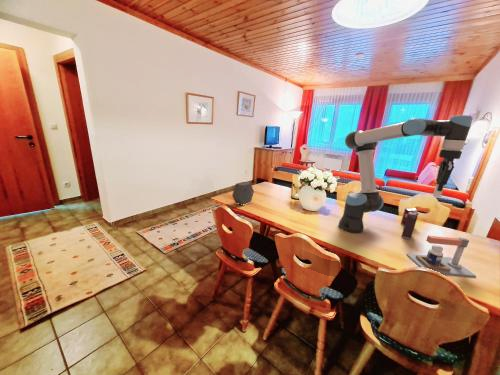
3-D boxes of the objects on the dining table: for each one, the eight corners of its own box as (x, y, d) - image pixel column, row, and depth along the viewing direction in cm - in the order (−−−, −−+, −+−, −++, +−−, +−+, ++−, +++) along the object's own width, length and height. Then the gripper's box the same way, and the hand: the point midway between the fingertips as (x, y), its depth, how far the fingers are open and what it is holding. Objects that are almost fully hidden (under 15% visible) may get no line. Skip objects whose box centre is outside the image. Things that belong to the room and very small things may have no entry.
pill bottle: (422, 260, 104) (427, 243, 102) (431, 260, 105) (437, 243, 102) (431, 267, 99) (437, 250, 96) (442, 267, 100) (448, 250, 97)
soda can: (415, 227, 144) (420, 211, 140) (403, 226, 145) (408, 210, 142) (409, 223, 150) (414, 208, 147) (398, 222, 152) (402, 206, 148)
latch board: (425, 272, 97) (432, 250, 94) (406, 254, 110) (412, 235, 107) (475, 277, 95) (484, 255, 92) (450, 258, 109) (457, 239, 105)
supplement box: (410, 239, 127) (417, 216, 122) (401, 236, 130) (407, 213, 125) (412, 235, 133) (418, 212, 128) (403, 232, 136) (409, 210, 132)
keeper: (468, 247, 97) (471, 241, 96) (430, 244, 98) (432, 238, 98) (462, 243, 100) (464, 237, 100) (425, 240, 102) (427, 234, 101)
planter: (248, 193, 184) (241, 176, 171) (255, 195, 180) (248, 178, 166) (238, 207, 176) (229, 191, 162) (245, 210, 171) (237, 193, 158)
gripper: (467, 151, 91) (450, 201, 97) (457, 149, 102) (442, 194, 108) (445, 149, 94) (430, 198, 101) (437, 148, 105) (424, 192, 112)
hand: (436, 196), depth 104 cm, fingers closed
